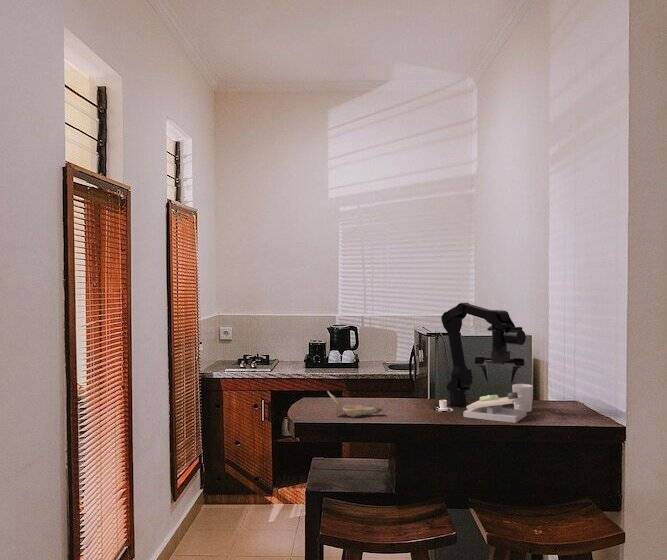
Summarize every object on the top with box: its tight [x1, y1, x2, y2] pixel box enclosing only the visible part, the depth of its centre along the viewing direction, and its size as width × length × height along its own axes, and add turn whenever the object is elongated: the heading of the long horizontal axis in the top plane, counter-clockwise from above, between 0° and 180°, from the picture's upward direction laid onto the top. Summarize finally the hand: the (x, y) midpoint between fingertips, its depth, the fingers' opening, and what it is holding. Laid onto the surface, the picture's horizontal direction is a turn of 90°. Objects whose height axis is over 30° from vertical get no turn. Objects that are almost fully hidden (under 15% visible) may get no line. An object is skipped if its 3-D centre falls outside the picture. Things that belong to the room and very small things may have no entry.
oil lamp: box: [327, 390, 383, 417], centre depth 241 cm, size 9×21×10 cm, turn 91°
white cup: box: [511, 383, 534, 413], centre depth 247 cm, size 8×8×10 cm
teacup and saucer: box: [437, 399, 454, 412], centre depth 250 cm, size 9×8×4 cm
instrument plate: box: [465, 391, 523, 410], centre depth 237 cm, size 18×13×3 cm
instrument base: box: [462, 404, 528, 424], centre depth 237 cm, size 20×14×4 cm
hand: (499, 382), depth 241 cm, fingers open, 9 cm apart
